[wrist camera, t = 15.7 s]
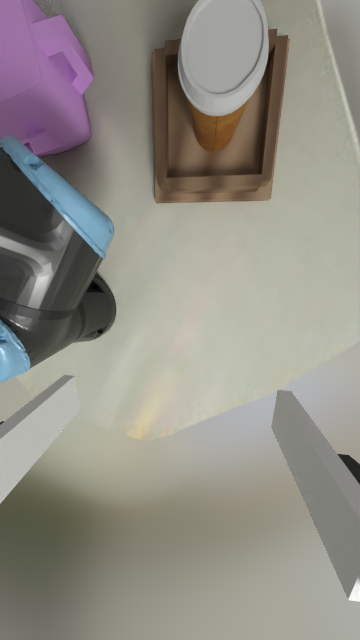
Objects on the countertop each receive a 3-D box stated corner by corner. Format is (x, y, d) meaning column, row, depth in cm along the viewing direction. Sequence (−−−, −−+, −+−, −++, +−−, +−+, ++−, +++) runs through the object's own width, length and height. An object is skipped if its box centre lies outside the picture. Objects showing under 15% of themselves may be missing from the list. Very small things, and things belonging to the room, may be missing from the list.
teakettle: (113, 90, 32) (61, -17, 20) (72, 189, 36) (10, 150, 24) (25, 22, 31) (-86, -133, 19) (-6, 133, 35) (-111, 64, 23)
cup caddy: (156, 203, 35) (151, 195, 32) (153, 61, 30) (147, 33, 26) (268, 200, 33) (276, 192, 30) (286, 47, 28) (298, 15, 25)
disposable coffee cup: (204, 78, 29) (207, -48, 17) (257, 111, 29) (294, 10, 18) (174, 145, 32) (160, 74, 20) (223, 175, 32) (236, 123, 21)
